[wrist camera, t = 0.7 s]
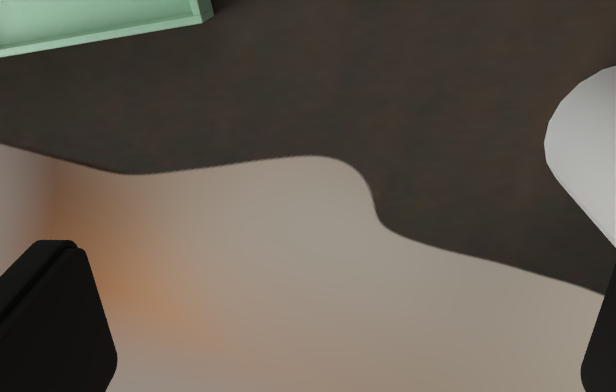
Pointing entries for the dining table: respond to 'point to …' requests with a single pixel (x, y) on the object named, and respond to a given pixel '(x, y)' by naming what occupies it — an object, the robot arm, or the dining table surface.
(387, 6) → the dining table surface
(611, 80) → the mug
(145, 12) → the tray
